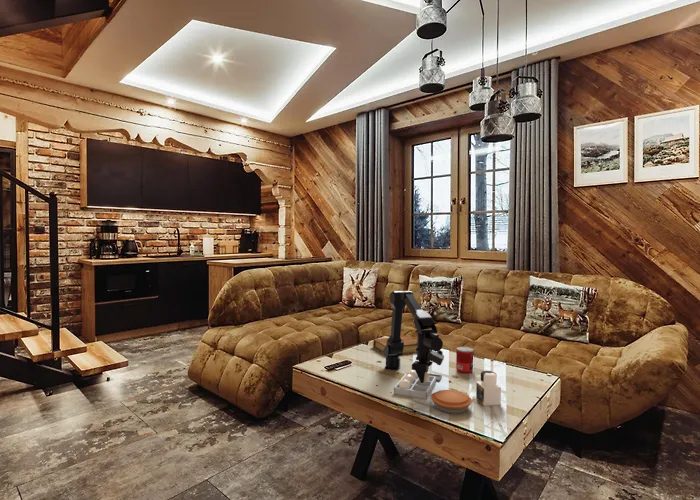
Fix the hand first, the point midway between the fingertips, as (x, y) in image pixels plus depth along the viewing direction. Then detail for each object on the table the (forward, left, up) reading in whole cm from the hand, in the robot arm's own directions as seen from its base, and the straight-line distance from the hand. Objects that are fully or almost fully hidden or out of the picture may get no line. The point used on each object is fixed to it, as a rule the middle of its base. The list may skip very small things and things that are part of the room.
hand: (423, 380), depth 170 cm
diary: (-27, +55, -4) cm, 61 cm away
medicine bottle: (+27, -3, -4) cm, 27 cm away
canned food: (+14, +32, -4) cm, 35 cm away
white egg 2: (-7, 0, -1) cm, 7 cm away
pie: (+14, -14, -4) cm, 20 cm away
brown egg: (0, 0, +2) cm, 2 cm away
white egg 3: (-7, -7, -1) cm, 9 cm away
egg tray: (-3, 0, -4) cm, 5 cm away
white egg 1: (-7, +7, -1) cm, 9 cm away
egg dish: (+2, +15, -4) cm, 15 cm away
